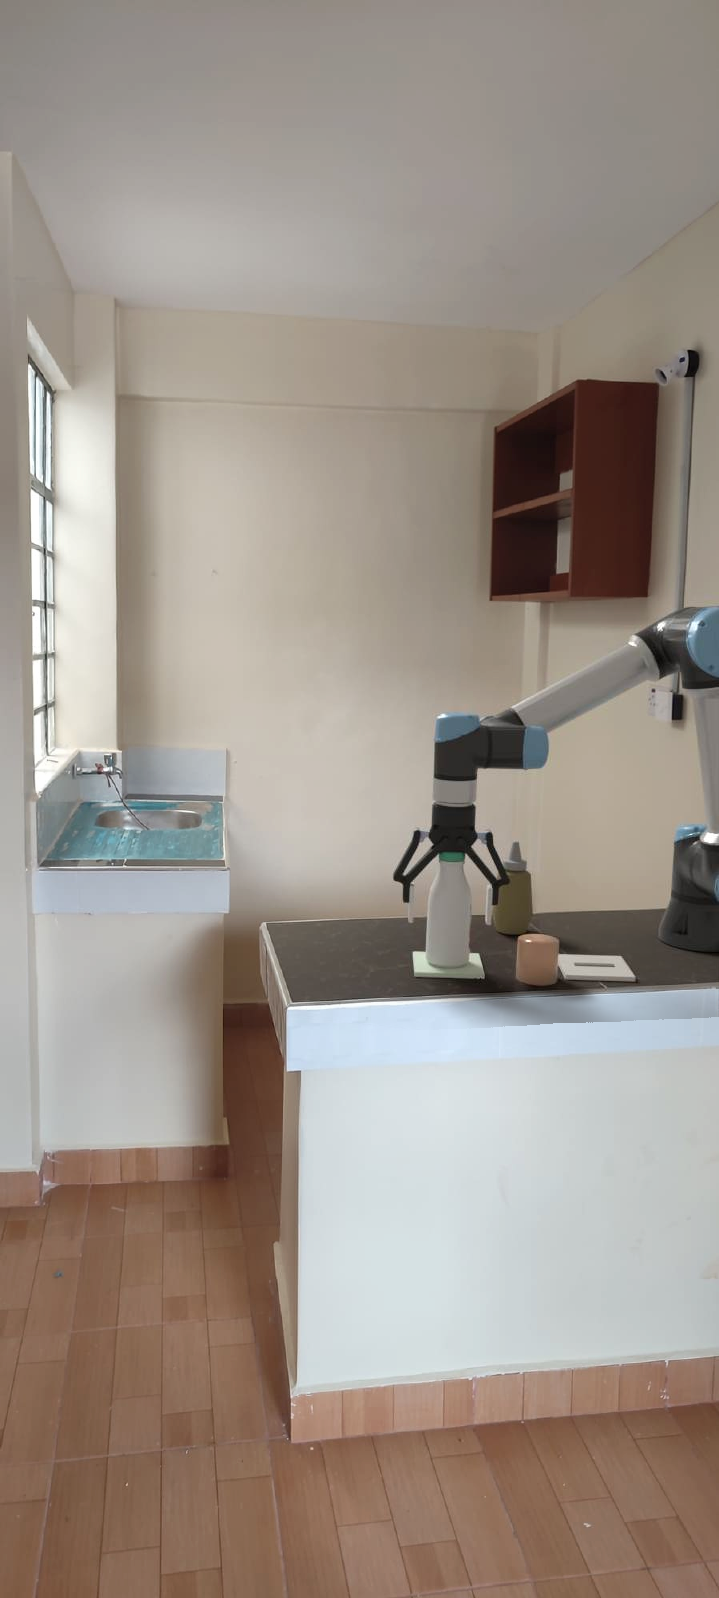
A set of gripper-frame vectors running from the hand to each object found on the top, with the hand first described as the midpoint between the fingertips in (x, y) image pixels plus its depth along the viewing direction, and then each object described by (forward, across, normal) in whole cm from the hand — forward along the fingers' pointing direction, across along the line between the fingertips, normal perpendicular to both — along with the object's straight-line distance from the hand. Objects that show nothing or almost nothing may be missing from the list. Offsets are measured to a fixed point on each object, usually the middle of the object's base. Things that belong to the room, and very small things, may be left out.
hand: (449, 922), depth 199 cm
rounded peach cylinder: (+8, -15, +5) cm, 18 cm away
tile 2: (+8, -26, -1) cm, 27 cm away
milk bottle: (+7, 0, 0) cm, 7 cm away
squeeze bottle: (+8, -14, -24) cm, 29 cm away
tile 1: (+8, 0, 0) cm, 8 cm away
